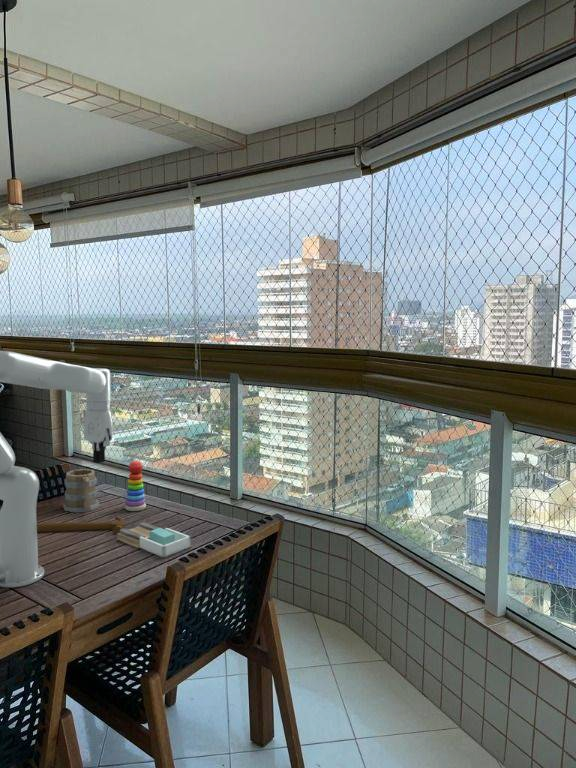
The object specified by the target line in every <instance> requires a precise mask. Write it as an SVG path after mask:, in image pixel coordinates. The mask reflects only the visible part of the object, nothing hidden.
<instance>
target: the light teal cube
mask: <svg viewBox="0 0 576 768" xmlns="http://www.w3.org/2000/svg"><path fill="white" fill-rule="evenodd" d="M174 541H175V534H174V533H171V532H168V531H165V532H162V533H159V534H157V543H159V544H162V545H166V544H169V543H172V542H174Z"/></svg>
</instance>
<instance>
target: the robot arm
mask: <svg viewBox="0 0 576 768" xmlns="http://www.w3.org/2000/svg"><path fill="white" fill-rule="evenodd" d="M111 377H112V376H111V371H110V369H108V368H104V367H103V368H102V367H96V368H95V367H94V368H93V367H87V366H82V365H76V364H73V363H72V364H71V363H67V362H66V363H65V362H62V361H58V360H52V359H47V358H44V357H43V358H42V357H37V356H33V355H28V354H23V353H19V352H15V351H7V350H0V383H3V384H11V385H19V386H24V387H25V386H26V387H30V388H36V389H45V390H56V391H57V390H62V391H68V392H70V393H74V394H75V393H78V394H85V397H86V398H85V402H86V403H85V404H86V405H85V406H86V409H85V414H84V421H83V422H84V424H83V439H84V440H87V441H88V443H90V444H91V449H92V451H93V452H92V453H93V455H92V461H93V463H95V464H100V463H104V462H105V460H106V455H105V453H106V448H107V447H110V445H111V443H110V442H111V441H112V439H113V420H112V413H111V408H112V404H111V403H112V402H111V399H112V394H111V392H112V391H111V389H112V388H111V381H112V380H111ZM15 463H16V454H15V452H14V450H13V448H12V446H11V445H10V444H9V443H8V441H7V440H6V438H5V436H4V435H3V434H2V432H0V500H1V501H2V502H3V503H2V506H1V508H0V587H2V588H19V587H25V586H28V585H31V584H33V583H36V582H37V581H39V580H41V579H42V578H43V577H44V575H45V568H44V567H43V566H41V565H39V554H38V553H39V552H38V549H39V548H38V532H37V522H38V521H37V503H38V495H39V490H40V480H39V477H38V475H37V473H35V472H34V471H33V470H31V469H29V468H27V467H23V466H17V465H15Z"/></svg>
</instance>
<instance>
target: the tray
mask: <svg viewBox="0 0 576 768" xmlns="http://www.w3.org/2000/svg"><path fill="white" fill-rule="evenodd" d="M164 529H165V530H167V531H168V532H171V533H174V534H175V541H174V542H172V543H169V544H166V545H162V544H159V543H157V542H154V541H152V540H149V539H147V538H144V537H140V547H139V549H141V550H144V551H146V552H149V553H151V554H154V555H155V556H158V557H161V558H163V559H164V558H167V557H169V556H171V555H174V554H177V553H179V552H181V551H185V550H187V549H189V548H191V547H192V536H190V535H189V534H188V535H187V534H184V533H182V532H180V531H177V530H173V529H171V528H169V527H165V528H164ZM184 549H185V550H184Z"/></svg>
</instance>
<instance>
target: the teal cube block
mask: <svg viewBox="0 0 576 768" xmlns="http://www.w3.org/2000/svg"><path fill="white" fill-rule="evenodd" d="M165 531H167V530H165V528H161V527H159V528H158V529H155V530H152V531H150V540H152V541H154V542H157V534H159V533H162V532H165Z"/></svg>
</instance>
